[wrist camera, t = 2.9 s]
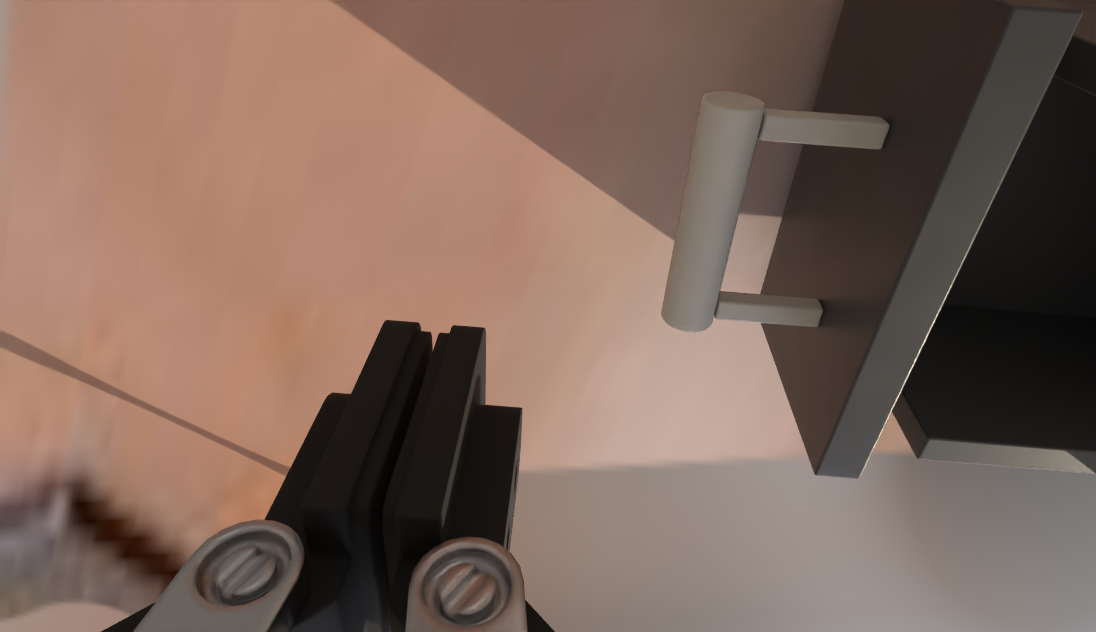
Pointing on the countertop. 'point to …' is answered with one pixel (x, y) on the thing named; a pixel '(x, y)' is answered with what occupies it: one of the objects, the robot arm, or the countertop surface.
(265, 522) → the robot arm
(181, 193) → the countertop surface
